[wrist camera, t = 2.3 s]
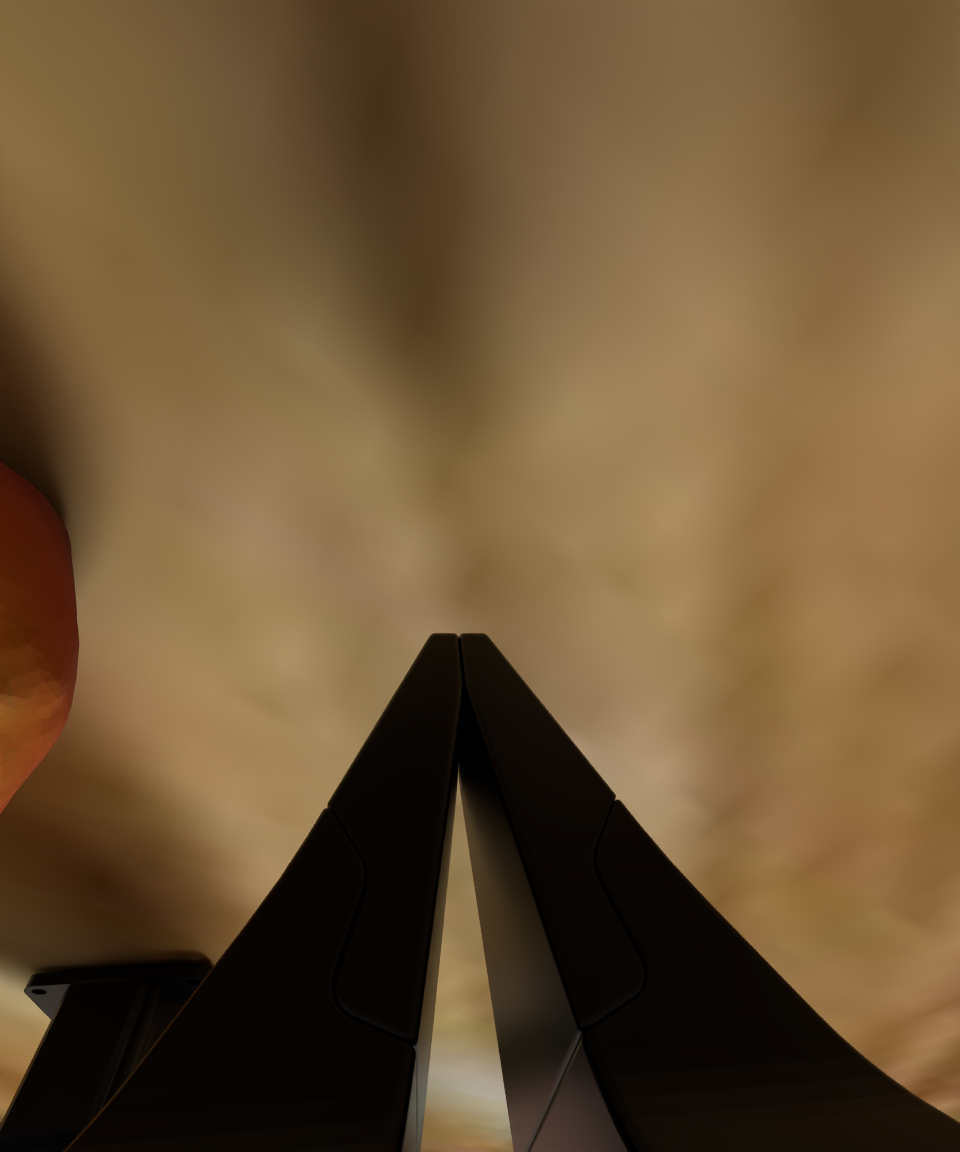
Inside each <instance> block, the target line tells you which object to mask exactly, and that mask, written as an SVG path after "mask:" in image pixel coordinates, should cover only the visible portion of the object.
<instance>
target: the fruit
mask: <svg viewBox="0 0 960 1152" xmlns="http://www.w3.org/2000/svg"><path fill="white" fill-rule="evenodd" d="M78 652H79V634H78V625H77V609H76V596H75V585H74V575H73V565H72V555H71V544H70V540H69V535H68V532H67V530H66V527H65V525H64V523H63V521H62V519H61V517H60V516H59V514H58V513H57V512H56V511H55V509H54V508H53V507H52V505H51V504H50V502H49V501H48V500H47V498H46V497H45V496H44V495H43V494H42V493H41V492H40V491H39V490H38V489H37V488H36V487H35V486H34V485H32V484H31V483H30V482H29V481H28V480H26V479H25V478H23V477H22V476H21V475H19V474H18V473H16V472H15V471H14V470H12V469H11V468H9V467H8V466H7V465H5V464H3V463H2V462H0V814H1V812H2V811H3V810H4V808H5V807H6V805H7V804H8V802H9V801H10V799H11V798H12V796H13V795H14V794H15V792H16V791H17V790H18V789H19V788H20V786H21V785H22V784H23V783H24V781H25V780H26V779H27V778H28V777H29V775H30V774H31V773H32V772H33V771H34V769H35V768H36V767H37V766H38V765H39V763H40V762H41V761H42V760H43V759H44V757H45V756H46V755H47V753H48V752H49V750H50V749H51V747H52V746H53V744H54V743H55V741H56V740H57V739H58V737H59V736H60V734H61V732H62V730H63V728H64V726H65V723H66V721H67V719H68V715H69V712H70V709H71V705H72V699H73V693H74V688H75V682H76V676H77V664H78Z"/></svg>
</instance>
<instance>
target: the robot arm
mask: <svg viewBox="0 0 960 1152" xmlns="http://www.w3.org/2000/svg"><path fill="white" fill-rule="evenodd" d="M458 770H459V783H460V792H461V799H462V806H463V812H464V819H465V826H466V832H467V839H468V846H469V853H470V859H471V866H472V873H473V879H474V886H475V893H476V900H477V906H478V913H479V920H480V926H481V933H482V940H483V947H484V953H485V960H486V967H487V973H488V980H489V987H490V994H491V1000H492V1007H493V1014H494V1020H495V1027H496V1034H497V1041H498V1047H499V1054H500V1061H501V1067H502V1074H503V1081H504V1088H505V1094H506V1101H507V1108H508V1114H509V1121H510V1128H511V1135H512V1141H513V1148H514V1152H960V1122H958V1121H956V1120H955V1119H953V1118H951V1117H950V1116H948V1115H946V1114H945V1113H943V1112H941V1111H940V1110H938V1109H937V1108H935V1107H933V1106H932V1105H930V1104H929V1103H927V1102H925V1101H924V1100H922V1099H921V1098H919V1097H918V1096H916V1095H914V1094H913V1093H912V1092H910V1091H909V1090H907V1089H906V1088H905V1087H903V1086H902V1085H900V1084H899V1083H898V1082H896V1081H895V1080H893V1079H892V1078H891V1077H889V1076H888V1075H886V1074H885V1073H884V1072H883V1071H881V1070H880V1069H879V1068H878V1067H876V1066H875V1065H874V1064H873V1063H871V1062H870V1061H869V1060H868V1059H866V1058H865V1057H864V1056H863V1055H862V1054H860V1053H859V1052H858V1051H857V1050H856V1049H855V1048H854V1047H852V1046H851V1045H850V1044H849V1043H848V1042H847V1041H846V1040H845V1039H843V1038H842V1037H841V1036H840V1035H839V1034H838V1033H837V1032H836V1031H835V1030H834V1029H833V1028H832V1027H831V1026H830V1025H829V1024H828V1023H827V1022H826V1021H825V1020H824V1019H823V1018H822V1017H821V1016H820V1015H818V1014H817V1013H816V1012H815V1010H814V1009H813V1008H812V1007H811V1006H810V1005H809V1004H808V1003H807V1002H806V1001H805V1000H804V999H803V998H802V997H801V996H800V995H799V994H798V993H797V992H796V991H795V990H794V989H793V988H792V987H791V986H790V985H789V984H788V983H787V982H786V981H785V980H784V979H783V978H782V977H781V976H780V975H779V973H778V972H777V971H776V970H775V969H774V968H773V967H772V966H771V965H770V964H769V963H768V962H767V961H766V960H765V959H764V958H763V957H762V956H761V955H760V954H759V953H758V952H757V951H756V950H755V949H754V948H753V947H752V946H751V945H750V944H749V943H748V942H747V941H746V940H745V939H744V938H743V936H742V935H741V934H740V933H739V932H738V931H737V930H736V929H735V928H734V927H733V926H732V925H731V924H730V923H729V922H728V921H727V920H726V919H725V918H724V917H723V916H722V915H721V914H720V913H719V912H718V911H717V910H716V909H715V908H714V907H713V906H712V905H711V904H710V903H709V901H708V900H707V899H706V898H705V897H704V896H703V895H702V894H701V893H700V892H699V891H698V890H697V889H696V888H695V886H694V885H693V884H692V883H691V882H690V881H689V880H688V879H687V878H686V877H685V876H684V875H683V874H682V873H681V871H680V870H679V869H678V868H677V867H676V866H675V865H674V864H673V863H672V862H671V861H670V860H669V858H668V857H667V856H666V855H665V854H664V853H663V851H662V850H661V849H660V848H659V847H658V845H657V844H656V843H655V842H654V841H653V840H652V838H651V837H650V836H649V835H648V834H647V832H646V831H645V830H644V829H643V828H642V827H641V825H640V824H639V823H638V822H637V821H636V819H635V818H634V817H633V816H632V814H631V813H630V812H629V811H628V809H627V808H626V807H625V806H624V804H623V803H622V802H621V801H620V800H615V798H616V795H615V793H614V792H613V791H612V790H611V788H610V787H609V786H608V785H607V783H606V782H605V781H604V780H603V779H602V777H601V776H600V775H599V774H598V772H597V771H596V770H595V769H594V767H593V766H592V765H591V764H590V762H589V761H588V760H587V759H586V757H585V756H584V755H583V754H582V752H581V751H580V750H579V749H578V747H577V746H576V745H575V744H574V742H573V741H572V740H571V739H570V737H569V736H568V735H567V734H566V733H565V731H564V730H563V729H562V728H561V726H560V725H559V724H558V723H557V721H556V720H555V719H554V718H553V716H552V715H551V714H550V713H549V711H548V710H547V709H546V708H545V706H544V705H543V704H542V703H541V701H540V700H539V699H538V698H537V696H536V695H535V694H534V693H533V692H532V690H531V689H530V688H529V687H528V685H527V684H526V683H525V682H524V680H523V679H522V678H521V677H520V675H519V674H518V673H517V672H516V670H515V669H514V668H513V667H512V665H511V664H510V663H509V662H508V660H507V659H506V658H505V657H504V655H503V654H502V653H501V652H500V651H499V649H498V648H497V647H496V646H495V644H494V643H493V642H492V641H491V639H490V638H489V637H488V636H487V635H486V634H483V633H463V634H461V635H460V636H459V637H458V636H457V634H455V633H434V634H431V635H430V637H429V638H428V640H427V641H426V643H425V645H424V646H423V648H422V649H421V651H420V653H419V654H418V656H417V658H416V659H415V661H414V663H413V664H412V666H411V667H410V669H409V671H408V672H407V674H406V676H405V677H404V679H403V681H402V682H401V684H400V686H399V687H398V689H397V690H396V692H395V694H394V695H393V697H392V699H391V700H390V702H389V704H388V705H387V707H386V708H385V710H384V712H383V713H382V715H381V717H380V718H379V720H378V722H377V723H376V725H375V726H374V728H373V730H372V731H371V733H370V735H369V736H368V738H367V740H366V741H365V743H364V745H363V746H362V748H361V749H360V751H359V753H358V754H357V756H356V758H355V759H354V761H353V763H352V764H351V766H350V767H349V769H348V771H347V772H346V774H345V776H344V777H343V779H342V781H341V782H340V784H339V785H338V787H337V789H336V790H335V792H334V794H333V795H332V797H331V799H330V800H329V802H328V804H327V806H328V808H325V809H324V810H323V811H322V813H321V814H320V816H319V818H318V819H317V821H316V823H315V824H314V826H313V828H312V829H311V831H310V832H309V834H308V836H307V837H306V839H305V840H304V842H303V843H302V845H301V846H300V848H299V850H298V851H297V853H296V854H295V856H294V857H293V859H292V860H291V862H290V863H289V865H288V866H287V868H286V869H285V871H284V872H283V874H282V876H281V877H280V879H279V880H278V881H277V883H276V884H275V885H274V887H273V888H272V890H271V891H270V892H269V894H268V895H267V896H266V898H265V899H264V900H263V902H262V903H261V905H260V906H259V907H258V909H257V910H256V911H255V913H254V914H253V915H252V917H251V918H250V920H249V921H248V922H247V924H246V925H245V926H244V928H243V929H242V930H241V932H240V933H239V934H238V936H237V937H236V938H235V939H234V941H233V942H232V943H231V945H230V946H229V947H228V949H227V950H226V951H225V952H224V954H223V955H222V956H221V958H220V959H219V960H218V962H217V963H216V964H215V965H214V967H213V968H212V969H210V968H209V967H207V966H204V965H179V966H161V967H144V968H126V969H109V970H92V971H74V972H57V973H40V974H35V975H33V976H32V977H31V978H30V980H29V982H28V984H27V985H26V987H25V989H24V992H25V994H26V995H27V996H28V997H29V998H30V999H31V1000H32V1001H33V1002H34V1003H35V1004H36V1005H37V1006H38V1007H39V1008H40V1009H41V1010H42V1011H43V1012H44V1013H45V1014H46V1015H47V1016H48V1017H49V1018H50V1019H51V1022H50V1024H49V1026H48V1028H47V1030H46V1032H45V1034H44V1036H43V1038H42V1040H41V1042H40V1044H39V1046H38V1048H37V1051H36V1053H35V1055H34V1057H33V1059H32V1061H31V1063H30V1065H29V1067H28V1069H27V1071H26V1073H25V1075H24V1077H23V1079H22V1081H21V1083H20V1085H19V1087H18V1089H17V1092H16V1094H15V1096H14V1098H13V1100H12V1102H11V1104H10V1106H9V1108H8V1110H7V1112H6V1114H5V1116H4V1118H3V1120H2V1122H1V1124H0V1152H420V1150H421V1140H422V1130H423V1121H424V1111H425V1101H426V1091H427V1081H428V1071H429V1061H430V1052H431V1042H432V1032H433V1022H434V1012H435V1002H436V992H437V982H438V973H439V963H440V953H441V943H442V933H443V923H444V913H445V903H446V894H447V884H448V874H449V864H450V854H451V844H452V834H453V825H454V815H455V805H456V795H457V781H458Z"/></svg>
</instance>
